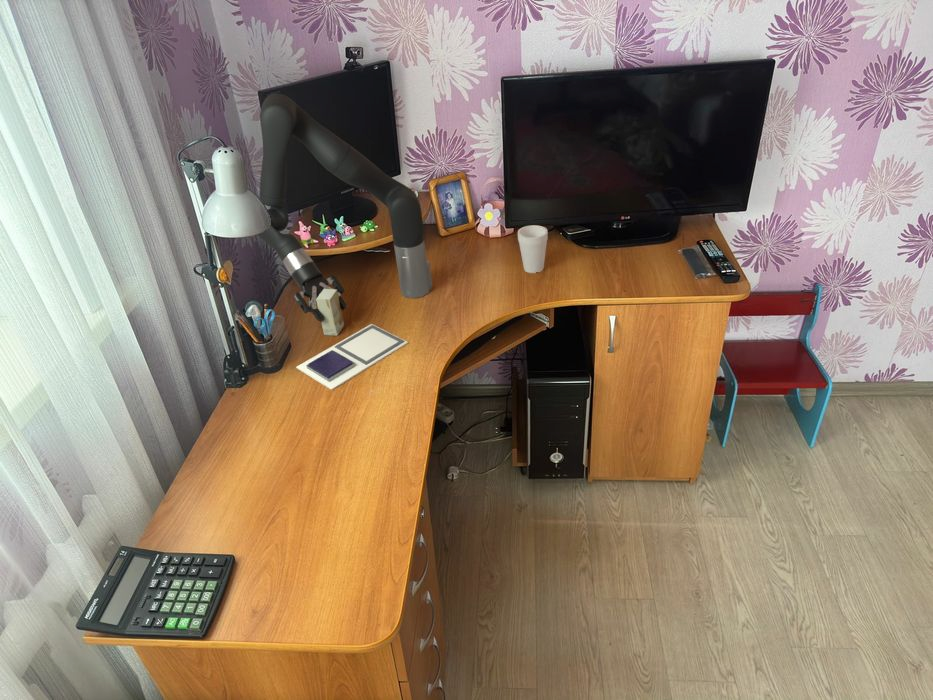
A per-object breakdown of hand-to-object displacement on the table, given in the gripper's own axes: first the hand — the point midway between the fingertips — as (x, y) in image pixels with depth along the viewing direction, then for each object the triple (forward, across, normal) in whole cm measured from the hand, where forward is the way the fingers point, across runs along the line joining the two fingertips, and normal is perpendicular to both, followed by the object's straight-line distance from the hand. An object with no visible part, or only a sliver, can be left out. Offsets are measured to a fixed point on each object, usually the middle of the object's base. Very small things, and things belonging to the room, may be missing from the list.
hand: (333, 314), depth 202 cm
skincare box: (+3, 0, +5) cm, 6 cm away
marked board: (+14, -5, -6) cm, 16 cm away
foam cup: (+20, +63, -12) cm, 67 cm away
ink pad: (+14, -12, -6) cm, 19 cm away
